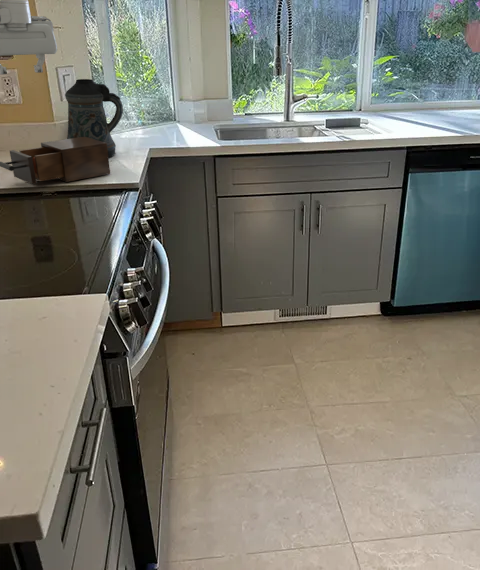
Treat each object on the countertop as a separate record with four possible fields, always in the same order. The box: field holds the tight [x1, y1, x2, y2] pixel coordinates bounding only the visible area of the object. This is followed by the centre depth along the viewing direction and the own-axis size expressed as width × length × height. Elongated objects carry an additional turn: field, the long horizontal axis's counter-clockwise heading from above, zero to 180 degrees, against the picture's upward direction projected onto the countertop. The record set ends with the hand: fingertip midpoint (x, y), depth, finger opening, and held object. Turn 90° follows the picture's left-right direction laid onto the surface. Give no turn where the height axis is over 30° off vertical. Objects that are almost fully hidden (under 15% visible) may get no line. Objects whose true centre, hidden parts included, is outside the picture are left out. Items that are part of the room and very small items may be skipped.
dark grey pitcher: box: [64, 78, 124, 159], centre depth 202 cm, size 16×19×25 cm
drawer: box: [0, 146, 64, 185], centre depth 173 cm, size 18×11×8 cm, turn 139°
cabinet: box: [40, 137, 111, 183], centre depth 182 cm, size 15×13×10 cm
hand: (21, 73), depth 155 cm, fingers open, 8 cm apart
